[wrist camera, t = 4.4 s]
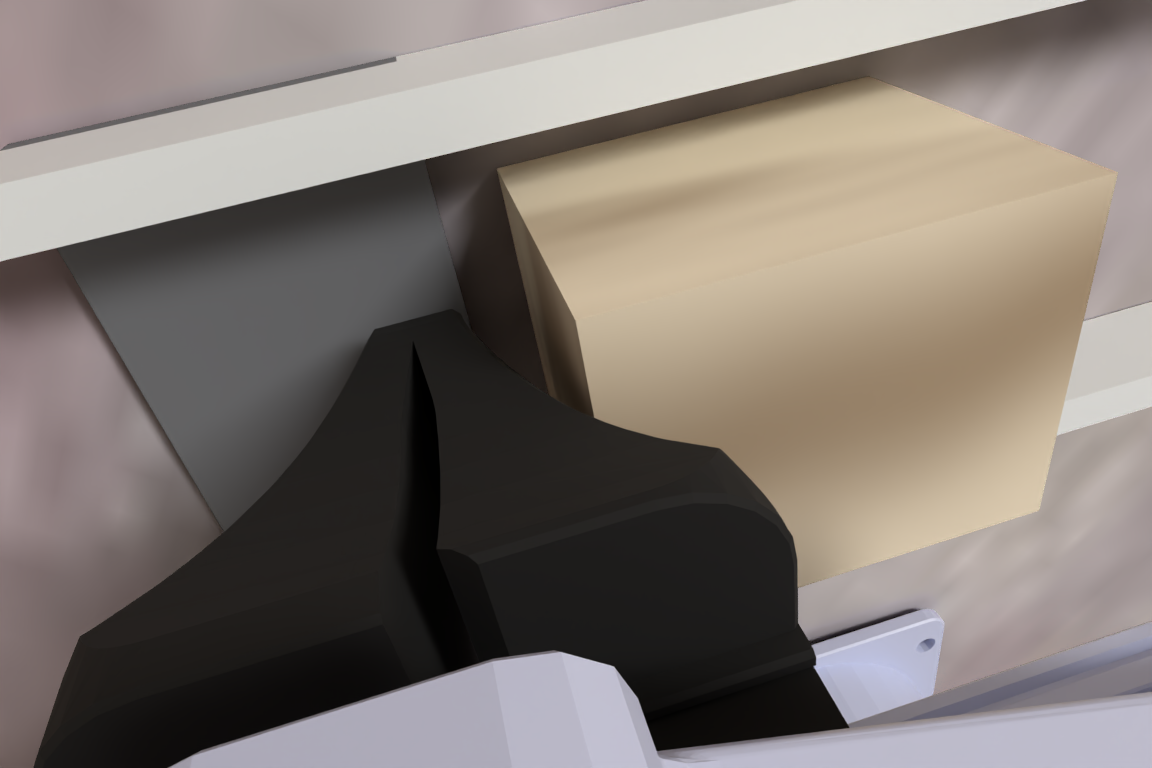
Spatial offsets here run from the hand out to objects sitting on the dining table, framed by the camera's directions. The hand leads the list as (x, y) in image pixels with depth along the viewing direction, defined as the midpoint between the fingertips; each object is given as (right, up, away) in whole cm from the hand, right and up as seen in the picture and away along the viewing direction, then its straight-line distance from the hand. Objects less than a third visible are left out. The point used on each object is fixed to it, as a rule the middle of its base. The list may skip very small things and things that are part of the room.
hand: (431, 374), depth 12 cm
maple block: (+4, +2, +1) cm, 5 cm away
